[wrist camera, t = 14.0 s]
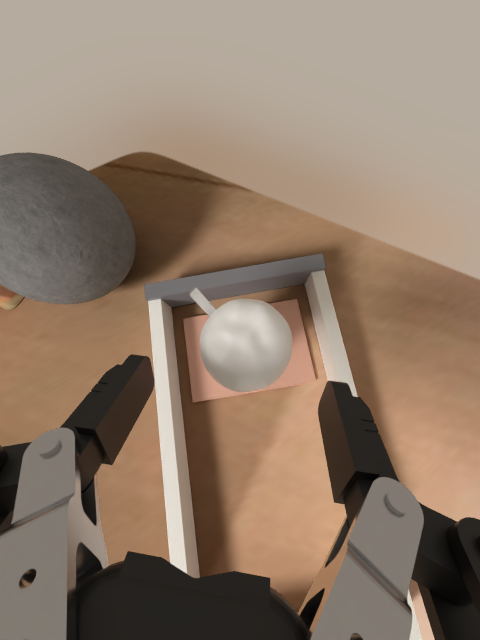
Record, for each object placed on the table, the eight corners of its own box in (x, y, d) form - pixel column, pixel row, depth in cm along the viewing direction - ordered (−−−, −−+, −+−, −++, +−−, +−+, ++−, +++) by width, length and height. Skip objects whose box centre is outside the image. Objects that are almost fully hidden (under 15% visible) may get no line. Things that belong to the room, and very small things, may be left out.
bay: (192, 647, 16) (178, 710, 13) (159, 296, 21) (144, 284, 18) (399, 614, 16) (434, 671, 13) (312, 269, 21) (322, 253, 18)
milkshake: (239, 310, 20) (228, 253, 10) (287, 352, 19) (324, 335, 9) (202, 348, 20) (154, 327, 10) (249, 394, 19) (247, 422, 9)
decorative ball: (118, 336, 21) (-1, 304, 11) (30, 289, 22) (-146, 224, 12) (174, 242, 22) (115, 142, 13) (89, 204, 24) (-24, 88, 14)
